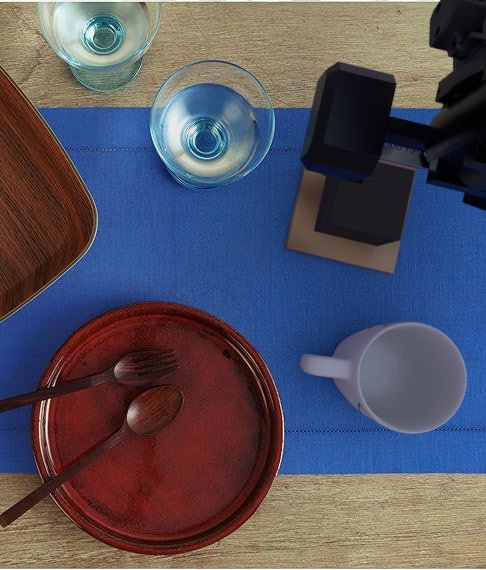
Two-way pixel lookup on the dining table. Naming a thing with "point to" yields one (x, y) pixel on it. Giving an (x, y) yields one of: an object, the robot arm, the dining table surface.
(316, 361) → the mug
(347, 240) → the cork mat
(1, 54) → the dining table surface
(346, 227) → the pad top
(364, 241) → the pad bottom
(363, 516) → the dining table surface
